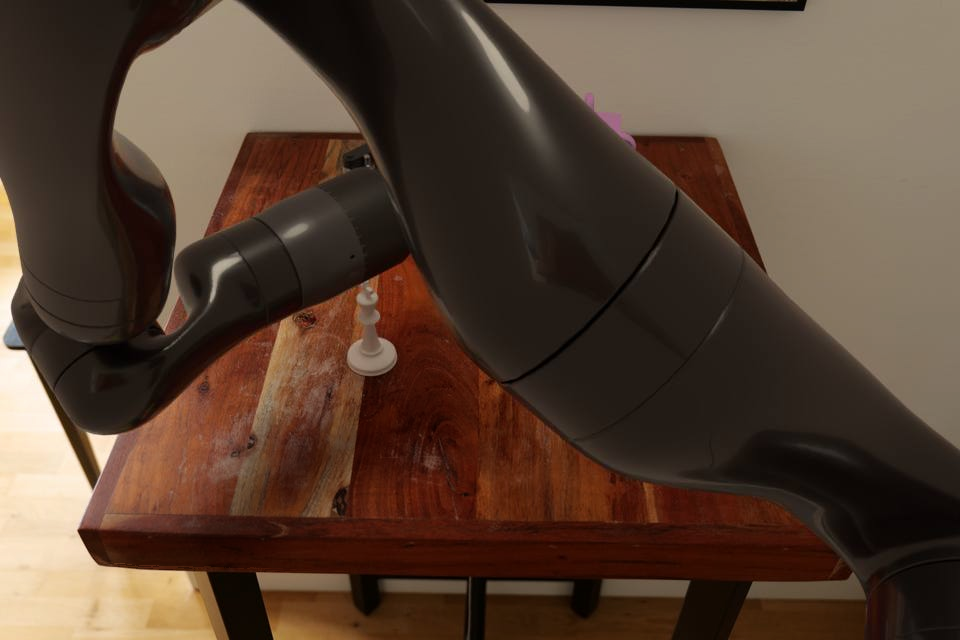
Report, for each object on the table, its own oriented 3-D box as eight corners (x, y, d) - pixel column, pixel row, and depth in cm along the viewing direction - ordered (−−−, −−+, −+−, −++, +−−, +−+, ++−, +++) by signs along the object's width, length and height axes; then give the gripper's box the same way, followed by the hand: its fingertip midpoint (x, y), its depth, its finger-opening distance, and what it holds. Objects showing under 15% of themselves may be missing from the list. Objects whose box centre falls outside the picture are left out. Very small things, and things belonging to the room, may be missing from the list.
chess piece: (378, 334, 87) (372, 257, 81) (407, 361, 85) (403, 283, 78) (337, 355, 85) (328, 278, 78) (365, 384, 82) (358, 306, 75)
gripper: (389, 244, 53) (568, 155, 61) (266, 151, 61) (440, 82, 69) (394, 332, 58) (559, 238, 67) (280, 235, 66) (440, 162, 74)
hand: (498, 159), depth 68 cm, fingers open, 8 cm apart
